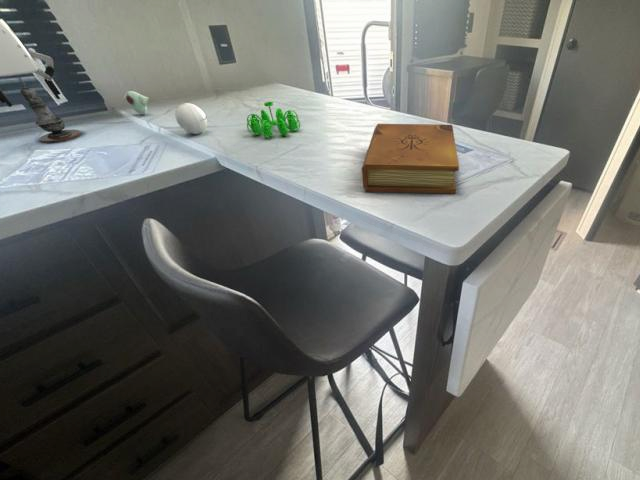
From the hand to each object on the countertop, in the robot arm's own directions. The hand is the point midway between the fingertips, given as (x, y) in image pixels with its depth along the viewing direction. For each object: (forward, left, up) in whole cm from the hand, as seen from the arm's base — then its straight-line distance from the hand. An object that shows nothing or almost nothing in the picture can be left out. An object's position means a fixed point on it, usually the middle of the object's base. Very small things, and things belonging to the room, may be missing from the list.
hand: (35, 101), depth 81 cm
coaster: (0, 0, -9) cm, 9 cm away
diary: (+89, -44, -9) cm, 100 cm away
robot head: (+16, +16, -9) cm, 24 cm away
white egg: (+37, -5, -9) cm, 38 cm away
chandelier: (+58, -10, -9) cm, 60 cm away
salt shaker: (0, 0, -8) cm, 8 cm away
